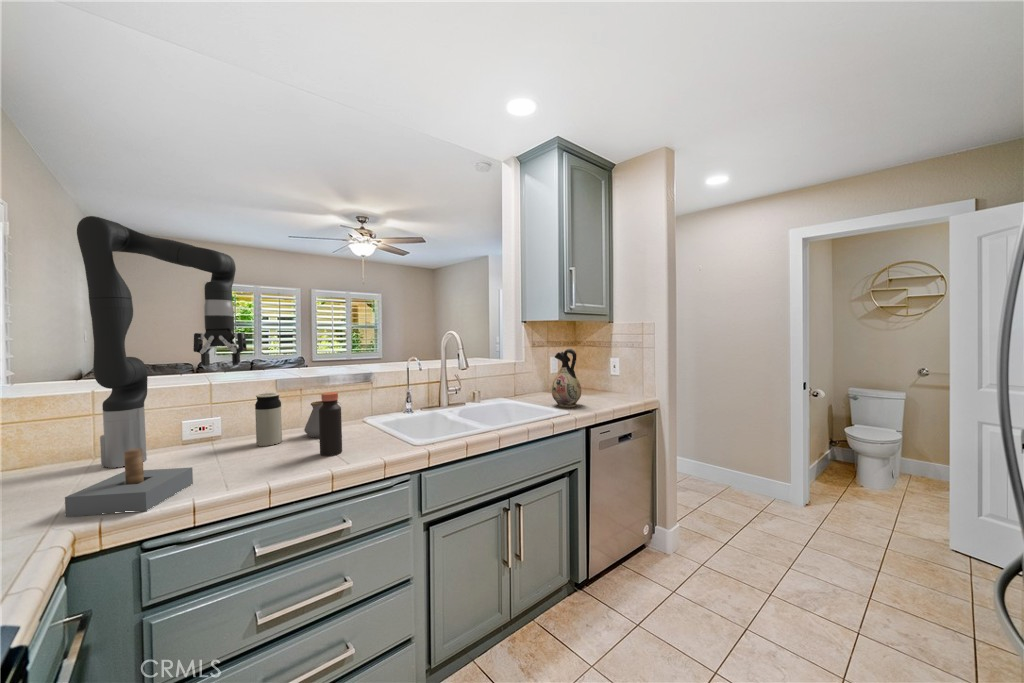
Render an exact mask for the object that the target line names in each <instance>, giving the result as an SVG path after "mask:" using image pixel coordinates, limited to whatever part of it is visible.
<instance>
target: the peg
mask: <svg viewBox="0 0 1024 683" xmlns="http://www.w3.org/2000/svg"><path fill="white" fill-rule="evenodd" d="M124 457H125V467H124V471H125V479H126V485H130V484H139V483H141V482H143V481H144V473H143V470H144V462H143V450H142V449H132V450H128V451H125V452H124Z"/></svg>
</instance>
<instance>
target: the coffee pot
mask: <svg viewBox="0 0 1024 683" xmlns="http://www.w3.org/2000/svg"><path fill="white" fill-rule="evenodd" d="M337 404H340V402H339V401H337ZM322 405H323V402H322V400H319V401H318V400H317V401H313V402H312V401H311V403H310V406H312V410H311V412H310V413H309V416H308V420H307V422H306V424H305V427H304V429H303V430H304V433H305V434H307V435H308V436H309V437H310V436H311V438H314V437H318V438H319V409H320V407H321V406H322Z"/></svg>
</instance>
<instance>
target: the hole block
mask: <svg viewBox="0 0 1024 683" xmlns="http://www.w3.org/2000/svg"><path fill="white" fill-rule="evenodd" d="M143 473H144V481H143V482H141V483H139V484H130V485H126V479H125V470H124V471H122V472H120V473H116V475H112V476H110V477H108V478H106V479H104V480H102V481H99V482H97V483H94V484H92V485H90V486H87V487H85V488H83V489H81V490H78V491H75V492H73V493H71V494H69V495H67V496H64V508H65V510H64V511H65V517H66V518H72V517H73V516H74V517H86V516H87V515H88V516H97V515H96V514H102V513H115V512H125V511H146V512H148V511H149V510H148V509H150V508H152V507H153V506H155V505H157V504H158V505H160V504H161V503H160V502H162V501H163V502H165V501H166V500H165V499H167V498H168V499H170V498H172V497H173V496H175V495H176V494H175V493H177V492H179V491H180V492H182V491H183V490H182V489H184V488H185V489H187V488H188V486H189V485H190V486H192V485H194V478H193V477H194V475H193V467H191V466H190V467H177V468H176V467H175V468H157V469H143ZM191 484H192V485H191ZM190 486H189V487H190ZM186 487H187V488H186ZM185 489H184V490H185ZM181 490H182V491H181ZM180 492H179V493H180ZM174 494H175V495H174ZM177 494H178V493H177ZM172 495H173V496H172ZM171 496H172V497H171ZM169 497H170V498H169ZM168 499H167V500H168ZM164 500H165V501H164ZM163 502H162V503H163ZM159 503H160V504H159ZM158 505H157V506H158ZM155 507H156V506H155ZM153 508H154V507H153ZM153 508H152V509H153ZM147 510H148V511H147ZM150 510H151V509H150ZM84 515H86V516H84ZM74 517H73V518H74Z"/></svg>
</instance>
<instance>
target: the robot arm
mask: <svg viewBox="0 0 1024 683" xmlns="http://www.w3.org/2000/svg"><path fill="white" fill-rule="evenodd" d="M76 236H77V241H78V242H77V243H78V245H79V250H80V252H81V256H82V260H83V265H84V269H85V277H86V282H87V283H86V284H87V292H88V302H89V311H90V317H91V326H92V336H93V367H92V368H93V376H94V379H95V381H96V382H97V384H99V386H101V387H102V388H105V389H109V390H110V389H111V392H110V395H109V396H108V397H107V398H106V399H105V400H103V402H102V405H101V407H102V422H103V434H102V435H100V436H99V443H100V444H99V445H100V447H99V448H100V462H101V464H100V466H101V468H103V467H102V466H105V467H104V468H107V467H108V468H107V469H116V467H118V468H122V467H123V466H125V457H124V452H125V451H128V450H132V449H142V450H143V461H144V462H146V461H147V437H146V416H145V415H146V414H145V401H146V398H147V397H148V369H147V366H146V364H145V363H144V361H143V360H142V359H140V358H138V357H135V356H127V354H126V345H125V344H126V336H127V334H128V330H129V329H130V326H131V324H132V321H133V319H134V306H133V305H134V304H133V299H132V298H133V297H132V293H131V290H130V289H129V287H128V285H127V284H126V282H125V280H124V279H123V277H122V275H121V274H120V273H119V270H118V269H117V267H116V264H115V260H114V255H113V252H117V253H130V254H138V255H145V256H147V257H148V256H149V257H151V258H155V259H158V260H161V261H164V262H166V263H170V264H173V265H174V264H175V265H179V266H182V267H186V268H187V267H188V268H192V269H196V270H200V271H204V272H207V273H211V277H210V281H208V282H206V283H204V284H205V285H204V304H203V305H204V306H203V309H204V310H203V313H204V314H203V315H204V329H205V332H204V333H203V332H196V333H194V334H193V352H195V353H197V354H198V353H199V354H200V364H202V365H203V367H208V366H210V364H211V363H210V362H211V361H210V360H211V359H210V351H212V349H213V348H214V347H226V348H228V349H229V350H230V351H231V352H232V354H231V356H232V357H231V359H232V360H231V361H232V365H233V366H238V365H239V364H240V363H241V353H242V352H246V351H247V350H248V348H247V338H246V333H245V332H237V333H236V332H235V316H234V314H235V311H234V304H233V290H232V287H233V284H234V280H235V276H236V263H235V260H234V259H233V258H232V256H231V255H228V253H224V252H221V251H217V250H214V249H210V248H206V247H205V248H204V247H198V246H195V245H192V244H189V243H185V242H181V241H177V240H173V239H168V238H162V237H156V236H151V235H147V234H144V233H141V232H139V231H137V230H134V229H132V228H130V227H127V226H125V225H122V224H121V223H118V222H116V221H112V220H111V219H110V220H109V219H107V218H103V217H100V216H94V215H89V216H85V217H83V218H81V219H80V221H79V222H78V224H77V227H76ZM234 339H236V340H237V343H236V342H235V341H234ZM204 340H206V341H205V343H204ZM237 344H238V345H237Z"/></svg>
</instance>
